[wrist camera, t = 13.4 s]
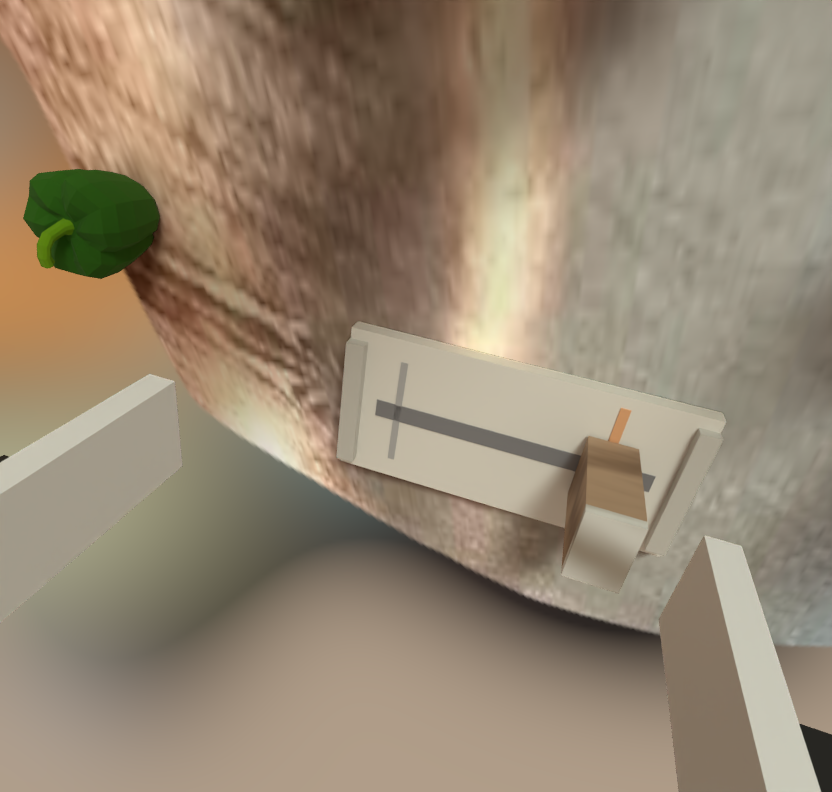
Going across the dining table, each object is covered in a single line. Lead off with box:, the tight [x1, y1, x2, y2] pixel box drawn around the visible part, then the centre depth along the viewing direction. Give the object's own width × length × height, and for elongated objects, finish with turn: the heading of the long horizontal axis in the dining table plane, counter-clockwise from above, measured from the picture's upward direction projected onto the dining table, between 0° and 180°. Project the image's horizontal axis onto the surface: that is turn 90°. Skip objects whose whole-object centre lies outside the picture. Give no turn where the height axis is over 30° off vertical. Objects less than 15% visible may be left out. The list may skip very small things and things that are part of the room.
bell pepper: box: [23, 169, 160, 279], centre depth 45 cm, size 8×8×10 cm
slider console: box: [336, 321, 726, 557], centre depth 48 cm, size 14×30×2 cm, turn 81°
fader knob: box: [561, 436, 648, 593], centre depth 41 cm, size 6×4×10 cm, turn 171°
